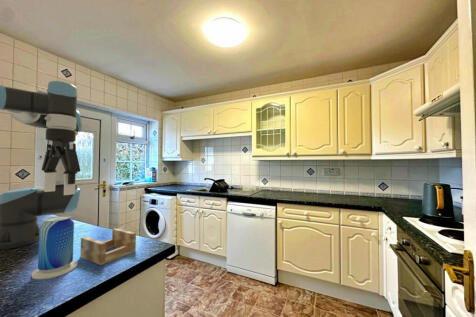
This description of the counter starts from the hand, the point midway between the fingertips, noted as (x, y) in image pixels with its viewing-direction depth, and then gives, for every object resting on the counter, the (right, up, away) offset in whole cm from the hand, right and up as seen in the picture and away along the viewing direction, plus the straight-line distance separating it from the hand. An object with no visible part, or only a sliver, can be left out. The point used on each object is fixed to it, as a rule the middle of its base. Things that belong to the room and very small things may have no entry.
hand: (59, 193), depth 67 cm
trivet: (0, -25, -2) cm, 25 cm away
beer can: (0, -24, -2) cm, 24 cm away
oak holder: (+10, -25, +10) cm, 29 cm away
